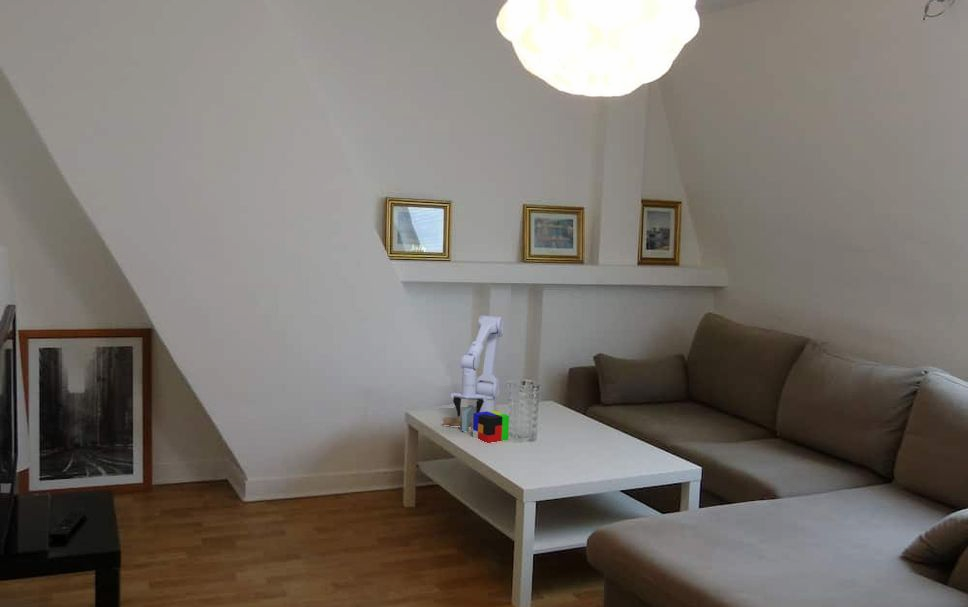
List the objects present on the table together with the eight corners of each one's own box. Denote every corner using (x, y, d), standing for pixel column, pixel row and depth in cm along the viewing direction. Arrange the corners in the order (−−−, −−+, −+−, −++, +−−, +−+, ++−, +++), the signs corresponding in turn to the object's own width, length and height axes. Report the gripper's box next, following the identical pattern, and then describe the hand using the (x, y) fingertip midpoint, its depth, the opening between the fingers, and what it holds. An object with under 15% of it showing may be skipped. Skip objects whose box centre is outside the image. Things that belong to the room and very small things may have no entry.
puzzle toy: (472, 438, 361) (473, 413, 360) (492, 434, 367) (493, 410, 366) (487, 444, 353) (488, 418, 352) (508, 440, 359) (509, 415, 358)
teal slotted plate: (466, 432, 369) (467, 413, 368) (461, 432, 369) (462, 412, 368) (473, 424, 382) (473, 405, 381) (468, 423, 383) (469, 405, 382)
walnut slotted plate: (443, 426, 377) (443, 418, 376) (444, 425, 379) (444, 417, 378) (491, 430, 373) (491, 422, 373) (492, 429, 375) (492, 420, 375)
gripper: (449, 384, 371) (448, 417, 373) (484, 387, 369) (483, 420, 370) (453, 381, 378) (452, 413, 380) (488, 383, 376) (486, 416, 377)
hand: (468, 416), depth 375 cm, fingers open, 7 cm apart
